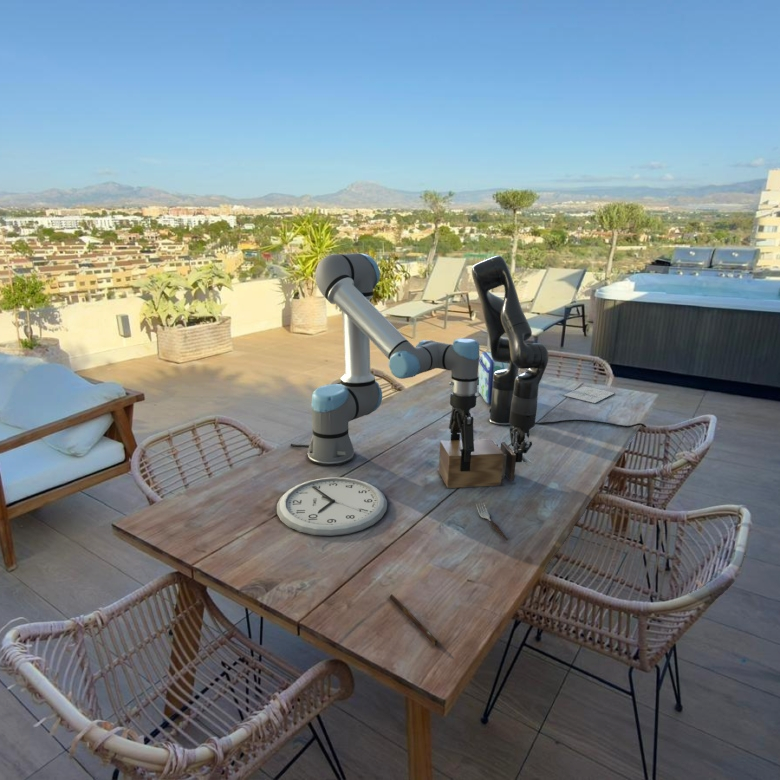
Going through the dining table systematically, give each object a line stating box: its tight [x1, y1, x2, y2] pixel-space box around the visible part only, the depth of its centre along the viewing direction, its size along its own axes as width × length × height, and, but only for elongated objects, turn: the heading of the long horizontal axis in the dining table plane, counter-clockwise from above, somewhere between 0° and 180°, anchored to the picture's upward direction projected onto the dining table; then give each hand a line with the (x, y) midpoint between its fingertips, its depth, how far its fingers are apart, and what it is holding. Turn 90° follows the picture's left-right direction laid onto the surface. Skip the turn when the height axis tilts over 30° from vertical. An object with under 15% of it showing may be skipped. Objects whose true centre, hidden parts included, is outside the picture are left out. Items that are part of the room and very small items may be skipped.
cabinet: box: [438, 438, 504, 489], centre depth 158 cm, size 16×11×10 cm
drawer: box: [495, 441, 533, 482], centre depth 159 cm, size 21×10×8 cm, turn 98°
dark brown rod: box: [389, 593, 438, 646], centre depth 101 cm, size 15×1×1 cm, turn 34°
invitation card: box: [562, 385, 616, 404], centre depth 242 cm, size 21×1×15 cm
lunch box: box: [477, 351, 509, 406], centre depth 230 cm, size 26×11×21 cm, turn 179°
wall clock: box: [276, 476, 388, 537], centre depth 142 cm, size 30×2×30 cm
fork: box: [475, 502, 508, 541], centre depth 134 cm, size 3×16×2 cm, turn 16°
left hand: (459, 461), depth 158 cm, fingers closed on cabinet, 11 cm apart
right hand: (517, 462), depth 161 cm, fingers closed
